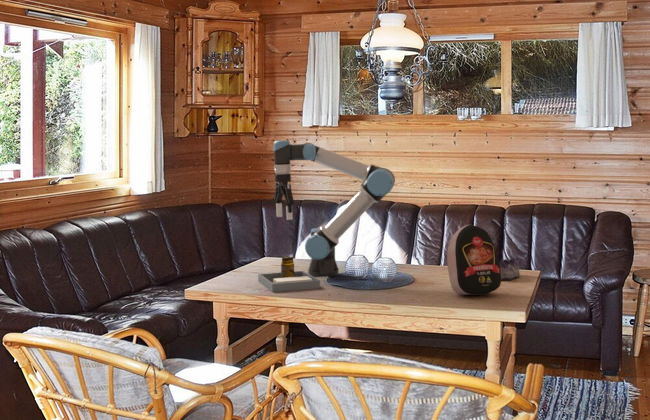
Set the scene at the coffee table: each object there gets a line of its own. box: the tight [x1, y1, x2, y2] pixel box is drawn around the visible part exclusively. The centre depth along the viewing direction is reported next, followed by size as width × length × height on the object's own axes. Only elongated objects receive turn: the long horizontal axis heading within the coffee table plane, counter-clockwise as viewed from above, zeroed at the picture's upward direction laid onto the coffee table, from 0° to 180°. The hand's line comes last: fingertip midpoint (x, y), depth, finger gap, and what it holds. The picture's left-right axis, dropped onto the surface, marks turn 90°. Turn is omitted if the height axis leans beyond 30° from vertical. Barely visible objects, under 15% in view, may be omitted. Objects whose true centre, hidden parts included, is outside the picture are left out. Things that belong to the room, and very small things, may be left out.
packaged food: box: [446, 224, 502, 296], centre depth 379 cm, size 22×20×30 cm
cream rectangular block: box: [273, 276, 312, 284], centre depth 395 cm, size 16×8×4 cm, turn 108°
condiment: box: [280, 255, 295, 278], centre depth 406 cm, size 7×8×12 cm
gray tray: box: [257, 270, 321, 293], centre depth 402 cm, size 22×26×4 cm
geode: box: [499, 257, 520, 281], centre depth 416 cm, size 20×12×10 cm, turn 150°
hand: (284, 218), depth 416 cm, fingers open, 13 cm apart
